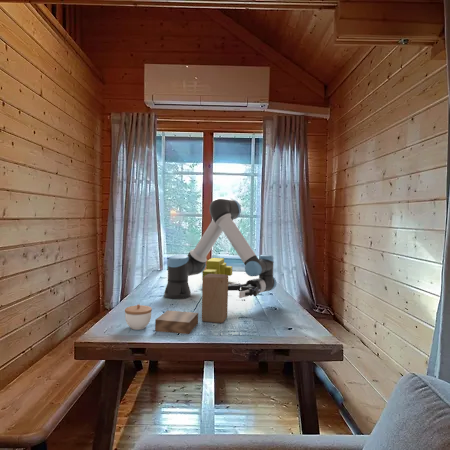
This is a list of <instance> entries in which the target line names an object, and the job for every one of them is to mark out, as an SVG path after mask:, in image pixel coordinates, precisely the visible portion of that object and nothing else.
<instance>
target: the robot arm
mask: <svg viewBox="0 0 450 450" xmlns="http://www.w3.org/2000/svg"><path fill="white" fill-rule="evenodd" d="M241 212H242V207H241V204H240V202H238V200H236V199H233V198H226V197H217V198H215V199H213V200H212V201H211V202H210V204H209V214H210V216H211V218H212V220H211V222H210V223H209V225H208V227H207V228H206V230H205V231H204V233H203V235H202V236H201V237H200V240H199V241H198V243H197V244H196V246H195V247H194V249H190V250H189V252H188V253H187V254H174V255H171V256H169V257H168V261H167V284H166V287H165V289H164V295H163V297H165V298H167V299H175V300H177V299H179V300H180V299H187V298H190V297H191V295H192V293H191V289H190V285H189V276H195V275H199V274H202V273H203V271H204V270H206V265H207V261H208V259H207V256H208V255H209V253H210V251H211V250H212V248H213V247H214V246H215V244H216V242H217V241H218V240H219V237H220V236H221V235H222V233H223V234H224V236H225V237H226V238H227V239H228V242H230V244H231V246H232V247H233V249H234V250H235V252H236V254H237V255H238V257H239V258H240V260H241V261H242V263H243V264H244V272H245V273H246V275H248V276H249V277H258V278H253V279H249V280H247V281H246V282H245V283H242V284H241V283H239V282H238V283H228V292H229V291H238V293H239V296H238V297H239V299H242V298H247V297H249V296H250V297H252V296H253V297H257V296H258V295H259V294H260V293H261V294H262V293H263V292H264V293H265V292H269V291H272V290H274V289H275V288H276V287H277V280H276V278H275V277H274V256H273V255H271V254H260V255H259V257H258V256H257V255H256V253H255V252H254V250H253V249H252V247H251V246H250V244H249V242H248V241H247V240H246V238H245V237H244V235H243V234H242V232H241V231H240V229H239V228H238V226H237V225H236V223H235V222H234V220H236V219H238V218H239V217H240V215H241Z"/></svg>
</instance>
